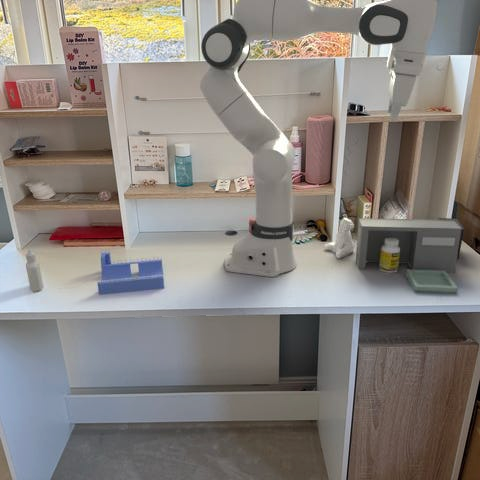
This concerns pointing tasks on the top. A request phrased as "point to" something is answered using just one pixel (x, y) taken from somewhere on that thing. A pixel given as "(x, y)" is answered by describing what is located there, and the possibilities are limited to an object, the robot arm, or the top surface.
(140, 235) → the top surface
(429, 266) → the printer housing
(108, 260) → the blue plastic stand
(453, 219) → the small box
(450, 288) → the tray
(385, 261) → the supplement bottle
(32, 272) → the eye dropper bottle
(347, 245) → the seated beast figurine
